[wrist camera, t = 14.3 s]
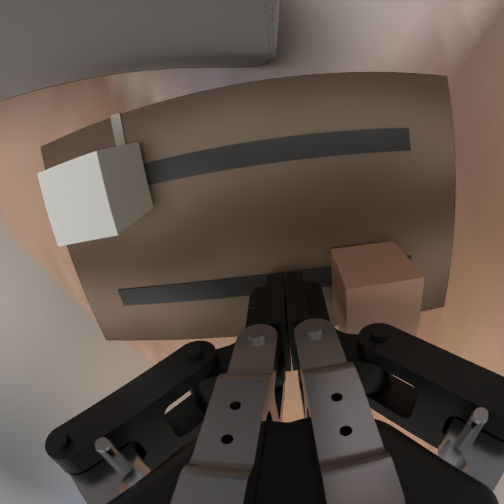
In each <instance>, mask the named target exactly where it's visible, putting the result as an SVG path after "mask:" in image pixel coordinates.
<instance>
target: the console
mask: <svg viewBox="0 0 504 504" xmlns="http://www.w3.org/2000/svg"><path fill="white" fill-rule="evenodd" d="M110 117H111V118H109V119H106V120H104V121H101V122H98V123H96V124H93V125H90V126H88V127H85V128H83V129H80V130H78V131H75V132H73V133H71V134H68V135H66V136H64V137H61V138H59V139H57V140H55V141H53V142H50V143H48V144H46V145H44V146H42V147H41V152H42V157H43V161H44V166H45V170H47V169H49V168H52V167H54V166H57V165H59V164H62V163H64V162H67V161H69V160H72V159H75V158H77V157H80V156H83V155H86V154H89V153H91V152H94V151H98V150H102V149H106V148H111V147H116V146H121V145H125V144H131V143H136V142H139V146H140V151H141V155H142V160H143V165H144V169H145V174H146V178H147V182H148V187H149V191H150V195H151V199H152V203H153V207H154V208H152V209H151V210H150V211H148V212H147V213H146V214H144V215H143V216H142V217H141V218H139V219H138V220H137V221H135V222H134V223H133V224H132V225H130V226H129V227H128V228H127V229H125V230H124V231H123V232H122V233H120V234H119V235H117V236H112V237H106V238H101V239H96V240H90V241H85V242H80V243H75V244H70V245H67V247H68V250H69V253H70V256H71V259H72V262H73V264H74V267H75V270H76V272H77V275H78V277H79V280H80V282H81V285H82V287H83V290H84V292H85V295H86V297H87V299H88V302H89V304H90V306H91V309H92V311H93V313H94V315H95V318H96V320H97V322H98V324H99V326H100V328H101V330H102V333H103V335H104V336H105V339H106V340H178V339H202V338H219V337H234V336H238V334H239V333H240V332H241V331H242V330H243V329H245V326H246V319H247V312H248V304H249V297H250V294H251V293H252V291H253V290H254V289H255V288H257V287H266V277H267V275H273V274H281V273H283V274H284V280H285V273H289V272H298V271H302V277H303V282H310V281H316V282H317V283H318V284H319V285H320V286H321V287H322V290H323V295H324V298H325V302H326V306H327V310H328V314H329V319H330V322H331V323H332V324H333V325H334V326H338V322H337V318H336V314H335V311H334V307H333V290H332V269H331V253H330V249H333V248H341V247H349V246H357V245H365V244H373V243H381V242H389V241H394V242H395V243H396V244H397V246H398V247H399V248H400V249H401V250H402V251H403V252H404V253H405V255H406V256H407V257H408V258H409V259H410V260H411V261H412V263H413V264H414V265H415V266H416V267H417V269H418V270H419V271H420V272H421V273H422V274H423V276H424V277H425V279H424V287H423V295H422V303H421V310H420V312H421V311H426V310H430V309H435V308H440V307H444V303H445V298H446V292H447V285H448V279H449V271H450V264H451V255H452V245H453V234H454V218H455V188H456V175H455V144H454V130H453V118H452V109H451V100H450V93H449V86H448V80H447V76H442V75H431V74H418V73H398V72H348V73H327V74H313V75H302V76H292V77H283V78H275V79H268V80H261V81H254V82H248V83H242V84H236V85H231V86H226V87H221V88H216V89H211V90H206V91H202V92H197V93H193V94H189V95H185V96H181V97H177V98H173V99H170V100H166V101H162V102H159V103H155V104H152V105H149V106H145V107H142V108H139V109H136V110H132V111H129V112H126V113H123V114H121V113H120V112H119V113H116V114H113V115H110ZM285 288H286V285H285Z"/></svg>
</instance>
